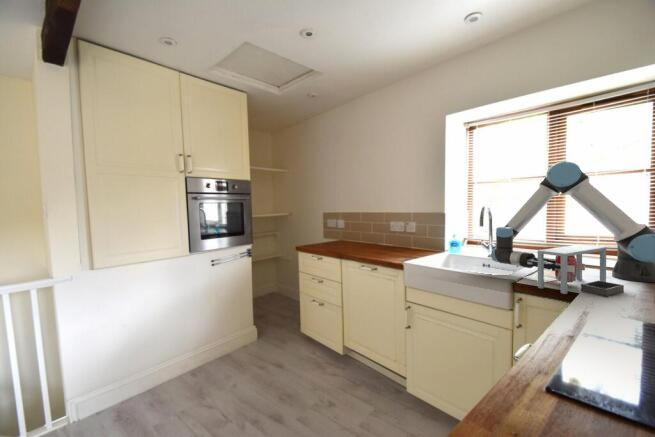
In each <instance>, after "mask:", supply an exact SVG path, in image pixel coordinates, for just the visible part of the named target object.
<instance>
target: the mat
mask: <svg viewBox="0 0 655 437" xmlns="http://www.w3.org/2000/svg"><path fill="white" fill-rule="evenodd" d="M521 278H522V279H526V280H530V281H534V282H538V274H532V275H527V276H522V277H521ZM556 281H558V280H557V279H556V278H555V277H554V278H553V277H547V276H544V284H545V283H550V282H556Z"/></svg>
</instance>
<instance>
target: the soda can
mask: <svg viewBox="0 0 655 437" xmlns="http://www.w3.org/2000/svg"><path fill="white" fill-rule="evenodd" d="M554 259H555V265H556V263H558V264H561V256H556V255H555V258H554ZM567 265H571V266H575V272H574V273H573V272H567V283H574V282H576V281H577V279H576V255H572V256H567ZM554 275H555V277H554V278H555V279H557V280H556V281H559V282H561V270H556V269H555V271H554Z"/></svg>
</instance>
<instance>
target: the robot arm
mask: <svg viewBox="0 0 655 437" xmlns="http://www.w3.org/2000/svg"><path fill="white" fill-rule="evenodd" d="M538 185H539V186H538V187H539V188H537V190H535V191H534V193H533V194H532V195H531V196H530V197H529V198H528V199H527V200H526V202H525V203H524V204H523V205H522V206H521V207H520V208H519V210H518V211H517V212H516V213H515V214H514V215H513V217H511V219H510V220H509V221H508V222H507V223H506V224H505V226H498V227H496V229H495V230H496V232H495V235H496V236H495V238H496V239H495V243H496V246H495V248H493V249H492V250H491V253H490V258H491V260H492V261H494V262H496V263H500V264H504V265H505V264H506V265H510V266H516V268H518V267H522V268H527V269H532V268H534V267H535V268H538V256H537V257H536V255H535V254H534V253H533V252H526V251H519V250H514V239H515V238H516V237H517V236H518V235H519V234H520V233H521V231H522V230H523V229H524V228H526V226H527V225H528V224H529V223H530V222H531V221H532V220H533V218H535V217H536V215H537V214H538V213H539V212H540V211H541V210H542V209H543V208H544V207H545V206H546V205H547V203H549V202H550V201H551V199H553V197H554V196H557V195H559V194H562V195H564V196H570V197H571V198H572V199H573V200H574V201H575V202H577V204H578V205H580V206H581V207H582V208H583V209H585V210H586V211H587V212H588V213H589V214H590V215H591V216H592V217H593V218H594V219H596V221H598V222H599V223H600V224H601V225H602V226H603V227H604V228H605V229H607V230H608V231H609V232H610V233H611V234H612V235H613V241H614V242H615V243H616V244H617V256H616V258H617V260H616V262H615V263H614V266H613V269H612V271H611V276H612V277H613V278H617V279H621V280H626V281H634V282H640V283H641V282H643V283H655V229H653V228H651V227H649V226H648V225H646V224H645V223H637V222H636V221H635V220H633V218H632V217H630V216H629V215H628V214H627V213H626V212H624V211H623V210H622V209H621V208H620V207H619V206H617V205H616V204H615V203H614V202H613V201H612V200H610V199H609V198H608V197H607V196H606V195H604V194H603V193H602V192H601V190H599V189H597V187H595V186H594V185H593V184H592V183H591V182H590V177H589V176H588V175H587V174H586V173H585V172H584V171H583V170H582V169H581V168H580V166H579V164H578V163H575V162H573V161H568V160H563V161H562V160H561V161H558V162H556V163H553V164H552V165H551V166H550V167H549V168H548V170H547V172H546V174H545V176H544V178H543V179H542V181H541V182H540V183H538ZM555 269H556V270H561V264H558V263H556V265H555V258H549V257H544V270H551V271H552V272H555ZM576 269H578V270H582V271H586V263H582V264H581V263H576ZM567 272H573V273H574V272H575V266H571V265H567Z"/></svg>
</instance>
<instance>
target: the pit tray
mask: <svg viewBox="0 0 655 437" xmlns="http://www.w3.org/2000/svg"><path fill="white" fill-rule="evenodd" d="M624 288H625V285H624V284H621V283H620V284H619V283H614V282H608V281H606V282H604V281H600V280H593V281H589V282H585V283H581V284H580V292H581V291H582V293H585V292H586V294H590V295H595V296H600V297H603V298H604V297H605V298H609V296H610V297H613V296H617V295H621V294H624V293H625V289H624Z"/></svg>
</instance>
